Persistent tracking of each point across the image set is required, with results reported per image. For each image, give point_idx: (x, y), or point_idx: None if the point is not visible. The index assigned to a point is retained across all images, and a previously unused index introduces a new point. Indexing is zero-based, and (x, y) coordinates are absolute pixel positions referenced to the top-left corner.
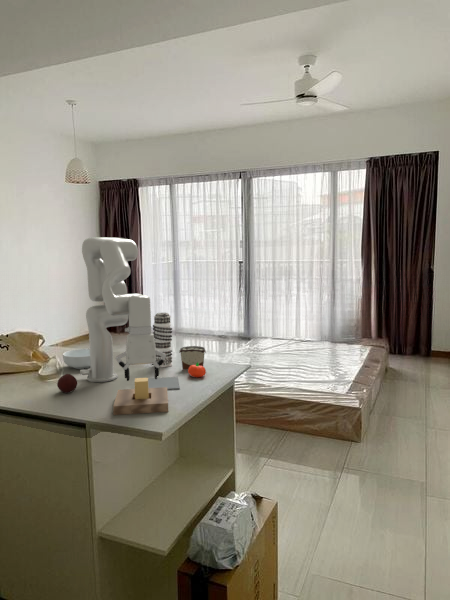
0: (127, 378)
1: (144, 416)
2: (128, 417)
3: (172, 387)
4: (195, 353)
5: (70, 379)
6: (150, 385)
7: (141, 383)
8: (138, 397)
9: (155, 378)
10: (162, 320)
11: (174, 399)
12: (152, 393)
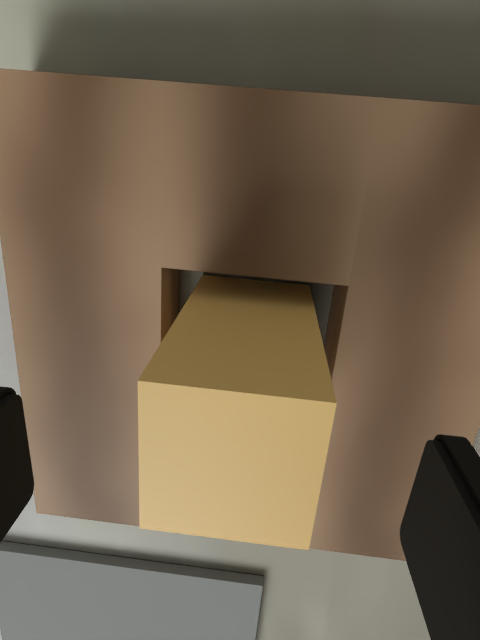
0: (467, 459)
1: (247, 2)
2: (401, 12)
3: (33, 568)
4: None
5: None
6: (178, 635)
7: (235, 374)
8: (282, 310)
9: (3, 389)
10: None
11: (7, 369)
12: None
